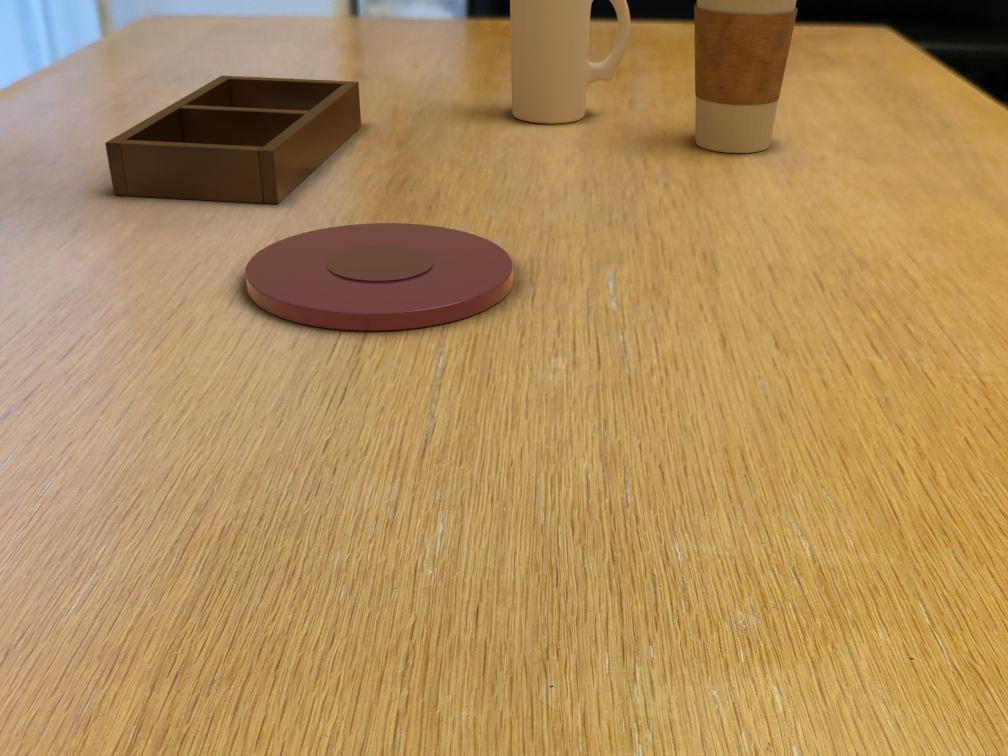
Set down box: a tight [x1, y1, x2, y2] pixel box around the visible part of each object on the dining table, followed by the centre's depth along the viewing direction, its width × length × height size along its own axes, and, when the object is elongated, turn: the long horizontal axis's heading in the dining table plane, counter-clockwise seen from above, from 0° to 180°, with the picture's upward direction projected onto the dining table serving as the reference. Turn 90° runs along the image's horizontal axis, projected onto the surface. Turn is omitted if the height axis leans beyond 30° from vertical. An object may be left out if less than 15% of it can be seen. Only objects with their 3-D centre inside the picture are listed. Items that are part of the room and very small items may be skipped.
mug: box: [509, 0, 631, 125], centre depth 100 cm, size 10×7×12 cm, turn 95°
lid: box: [244, 222, 514, 332], centre depth 69 cm, size 15×15×1 cm
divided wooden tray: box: [104, 75, 362, 205], centre depth 90 cm, size 12×22×4 cm, turn 173°
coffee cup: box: [693, 0, 798, 154], centre depth 92 cm, size 8×8×15 cm
